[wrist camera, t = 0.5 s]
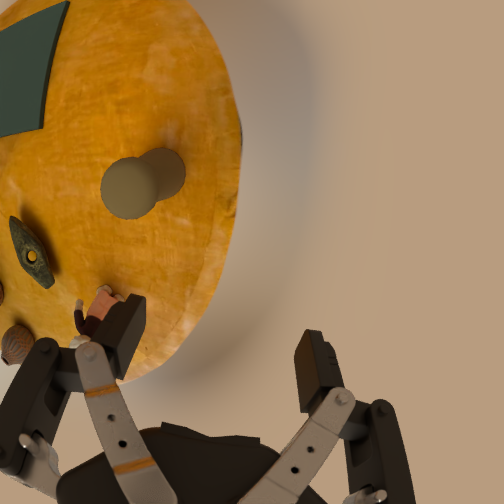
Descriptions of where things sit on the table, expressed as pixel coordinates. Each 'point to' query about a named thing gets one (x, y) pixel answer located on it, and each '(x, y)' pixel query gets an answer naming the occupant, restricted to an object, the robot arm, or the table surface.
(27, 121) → the mat
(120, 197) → the cork
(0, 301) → the block
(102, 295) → the grandmother figurine
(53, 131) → the table surface
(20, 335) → the vase
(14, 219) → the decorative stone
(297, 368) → the robot arm
